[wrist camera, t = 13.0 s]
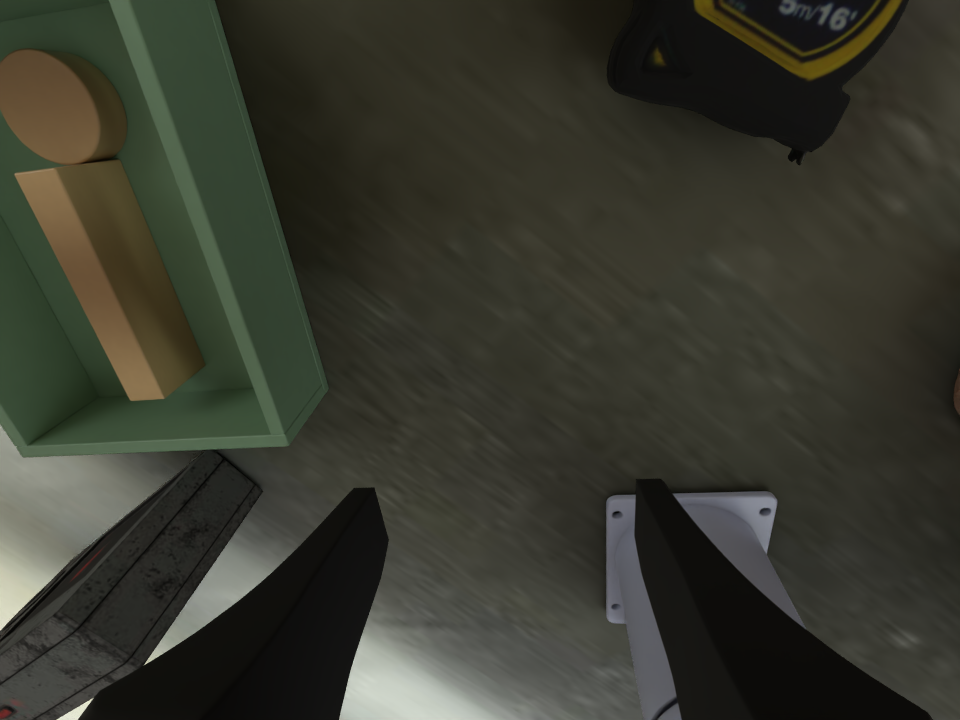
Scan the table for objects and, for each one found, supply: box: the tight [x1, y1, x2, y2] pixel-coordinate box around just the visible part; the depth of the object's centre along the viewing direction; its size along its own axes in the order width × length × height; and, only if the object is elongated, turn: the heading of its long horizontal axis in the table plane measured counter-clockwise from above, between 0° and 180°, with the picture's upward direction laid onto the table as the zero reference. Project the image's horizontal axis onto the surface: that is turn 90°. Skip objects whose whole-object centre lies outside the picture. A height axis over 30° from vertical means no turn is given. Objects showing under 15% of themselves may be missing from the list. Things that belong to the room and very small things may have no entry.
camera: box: [0, 449, 263, 720], centre depth 25 cm, size 16×4×10 cm, turn 129°
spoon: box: [0, 48, 205, 401], centre depth 19 cm, size 13×4×3 cm, turn 7°
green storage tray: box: [0, 0, 329, 457], centre depth 19 cm, size 16×12×4 cm
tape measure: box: [607, 0, 909, 165], centre depth 14 cm, size 7×7×4 cm
